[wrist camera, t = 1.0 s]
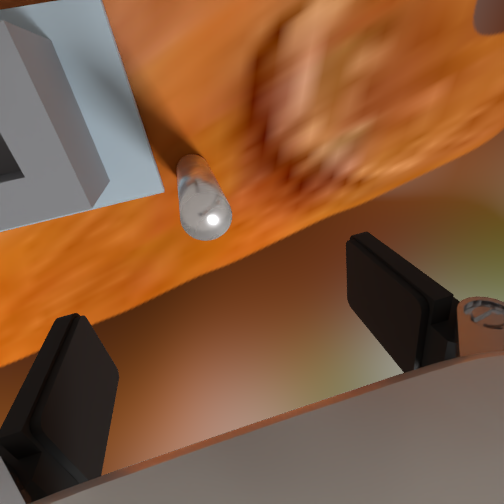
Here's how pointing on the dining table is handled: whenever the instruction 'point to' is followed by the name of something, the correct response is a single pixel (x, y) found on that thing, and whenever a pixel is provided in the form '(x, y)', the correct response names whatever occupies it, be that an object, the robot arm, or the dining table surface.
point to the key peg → (201, 199)
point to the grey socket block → (67, 116)
